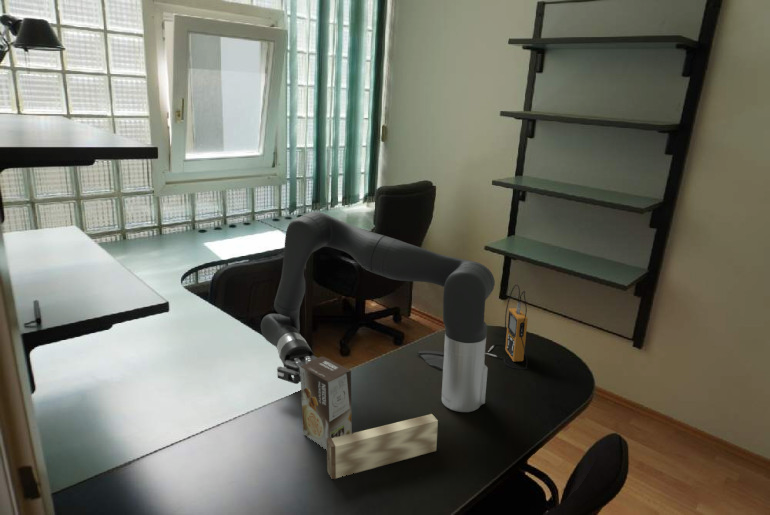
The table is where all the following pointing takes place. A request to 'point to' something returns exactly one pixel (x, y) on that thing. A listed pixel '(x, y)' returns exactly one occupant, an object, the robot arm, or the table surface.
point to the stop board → (381, 445)
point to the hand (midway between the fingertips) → (313, 386)
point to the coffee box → (325, 400)
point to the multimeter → (515, 333)
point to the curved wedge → (433, 358)
